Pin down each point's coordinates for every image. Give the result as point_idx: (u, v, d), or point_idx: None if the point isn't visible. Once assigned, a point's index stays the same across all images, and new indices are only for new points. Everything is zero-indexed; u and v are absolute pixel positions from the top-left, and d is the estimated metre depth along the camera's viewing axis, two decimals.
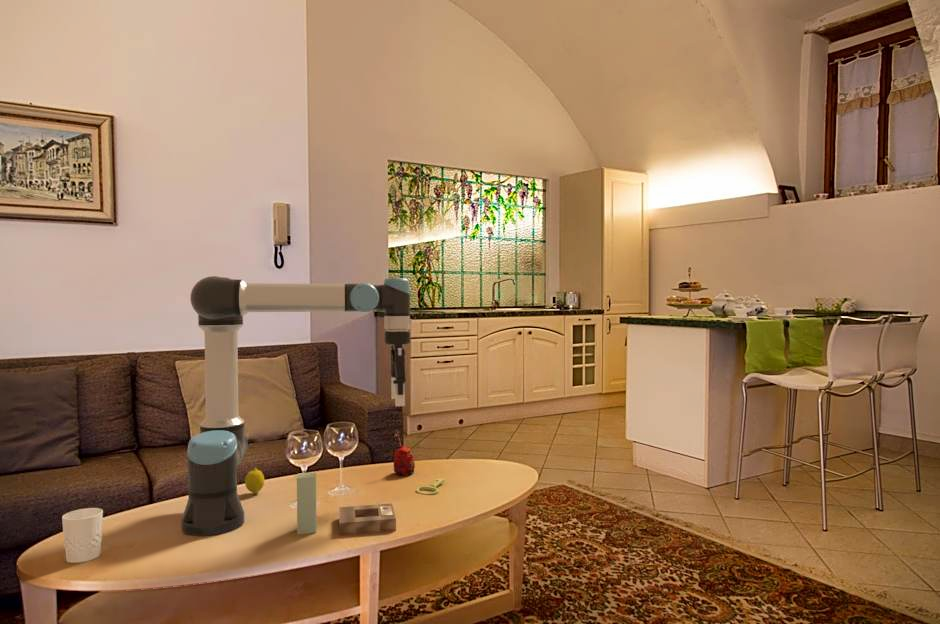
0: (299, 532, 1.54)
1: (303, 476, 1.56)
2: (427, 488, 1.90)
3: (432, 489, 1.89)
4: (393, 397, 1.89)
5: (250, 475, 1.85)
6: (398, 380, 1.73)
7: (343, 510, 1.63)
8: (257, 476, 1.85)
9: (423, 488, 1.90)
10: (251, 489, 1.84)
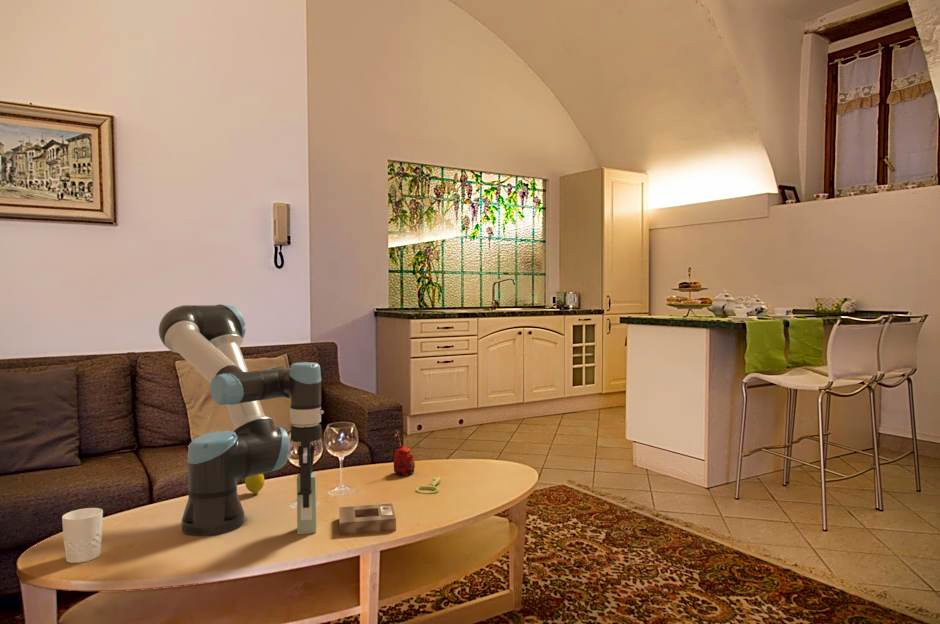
0: (299, 532, 1.54)
1: None
2: (426, 487, 1.90)
3: (432, 488, 1.90)
4: None
5: None
6: (302, 492, 1.51)
7: (343, 510, 1.63)
8: (257, 476, 1.85)
9: (422, 487, 1.91)
10: (251, 489, 1.84)
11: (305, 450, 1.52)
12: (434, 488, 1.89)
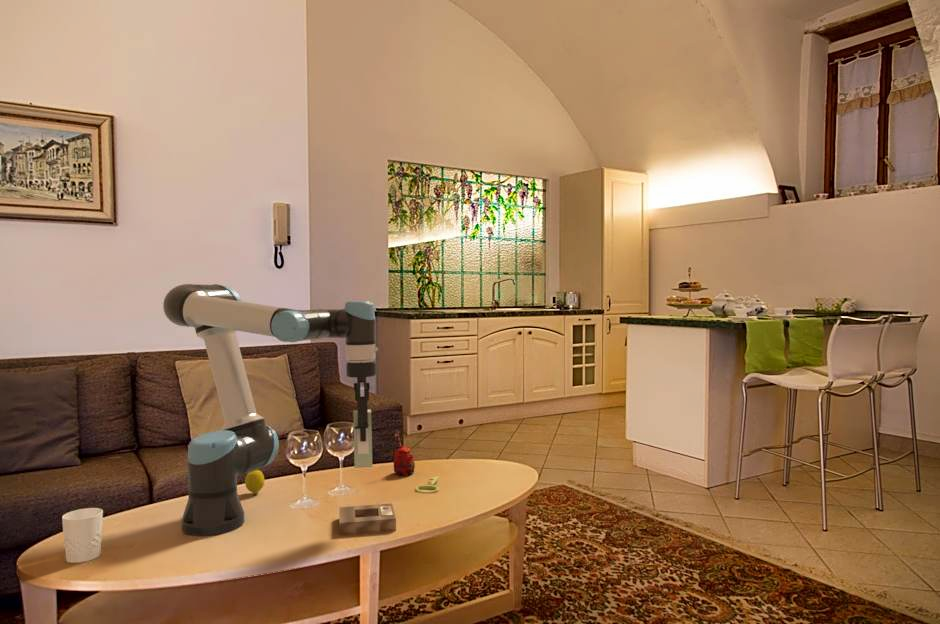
0: (356, 466, 1.57)
1: None
2: (425, 487, 1.91)
3: (431, 487, 1.91)
4: None
5: (250, 475, 1.85)
6: (359, 425, 1.54)
7: (343, 510, 1.63)
8: (257, 476, 1.85)
9: (421, 487, 1.91)
10: (251, 489, 1.84)
11: (361, 385, 1.56)
12: (434, 487, 1.90)
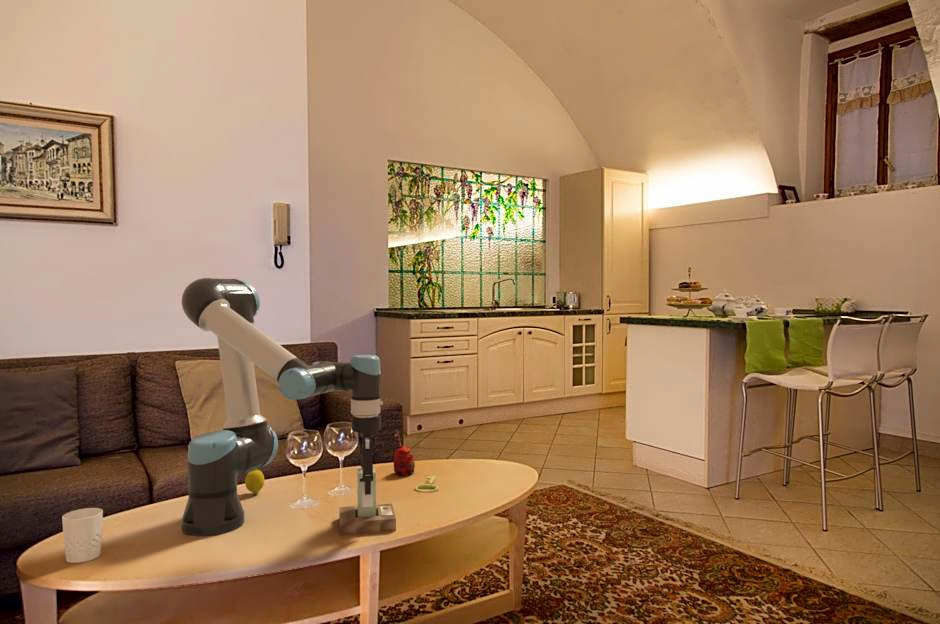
0: None
1: None
2: (425, 486, 1.92)
3: (430, 487, 1.91)
4: None
5: (250, 475, 1.85)
6: (365, 479, 1.51)
7: (343, 510, 1.63)
8: (257, 476, 1.85)
9: (420, 486, 1.92)
10: (251, 489, 1.84)
11: (367, 438, 1.56)
12: (433, 486, 1.91)
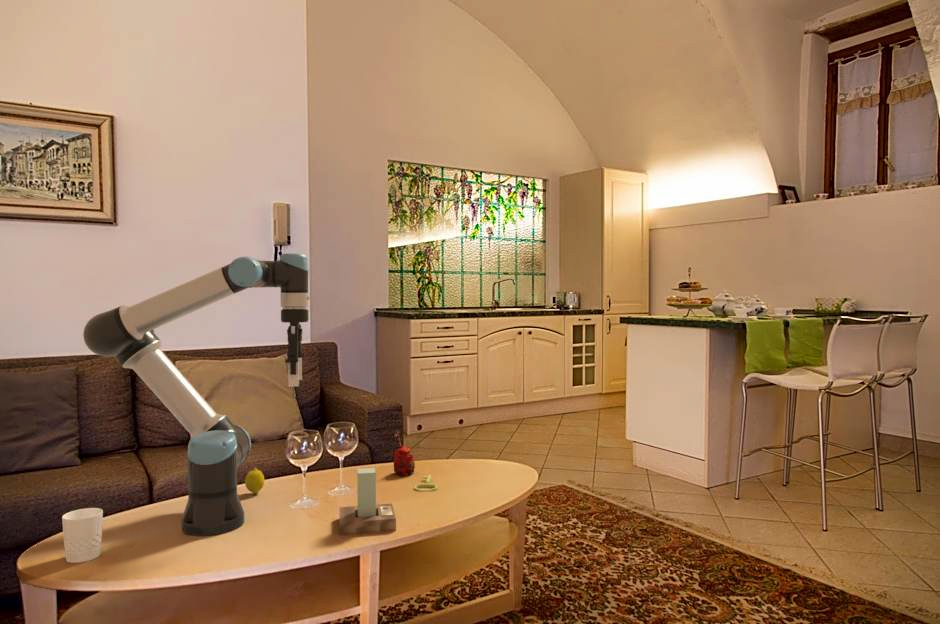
0: None
1: (363, 471, 1.60)
2: (423, 485, 1.92)
3: (429, 486, 1.92)
4: None
5: (250, 475, 1.85)
6: (289, 359, 1.66)
7: (343, 510, 1.63)
8: (257, 476, 1.85)
9: (419, 486, 1.92)
10: (251, 489, 1.84)
11: None
12: (432, 485, 1.92)
